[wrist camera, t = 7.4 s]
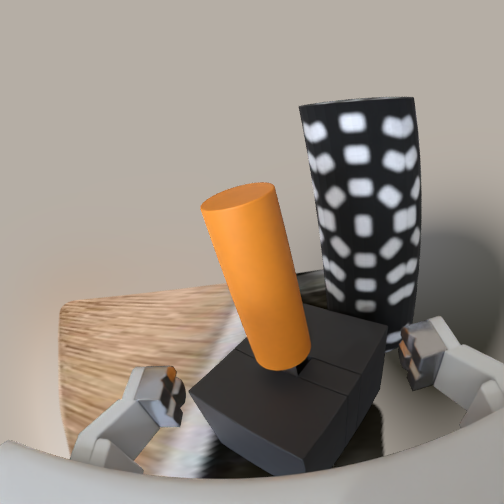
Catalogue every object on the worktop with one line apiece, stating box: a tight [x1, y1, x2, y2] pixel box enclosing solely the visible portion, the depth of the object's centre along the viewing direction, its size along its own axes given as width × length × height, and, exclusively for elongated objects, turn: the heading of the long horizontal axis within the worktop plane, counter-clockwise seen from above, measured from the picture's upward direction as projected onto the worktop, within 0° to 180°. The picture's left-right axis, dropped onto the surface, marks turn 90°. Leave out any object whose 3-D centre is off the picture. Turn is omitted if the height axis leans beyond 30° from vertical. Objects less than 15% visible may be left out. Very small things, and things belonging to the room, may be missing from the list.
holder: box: [189, 303, 388, 476], centre depth 18 cm, size 10×8×7 cm
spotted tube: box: [299, 97, 422, 353], centre depth 23 cm, size 8×8×20 cm
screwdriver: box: [201, 182, 311, 377], centre depth 16 cm, size 3×3×17 cm
